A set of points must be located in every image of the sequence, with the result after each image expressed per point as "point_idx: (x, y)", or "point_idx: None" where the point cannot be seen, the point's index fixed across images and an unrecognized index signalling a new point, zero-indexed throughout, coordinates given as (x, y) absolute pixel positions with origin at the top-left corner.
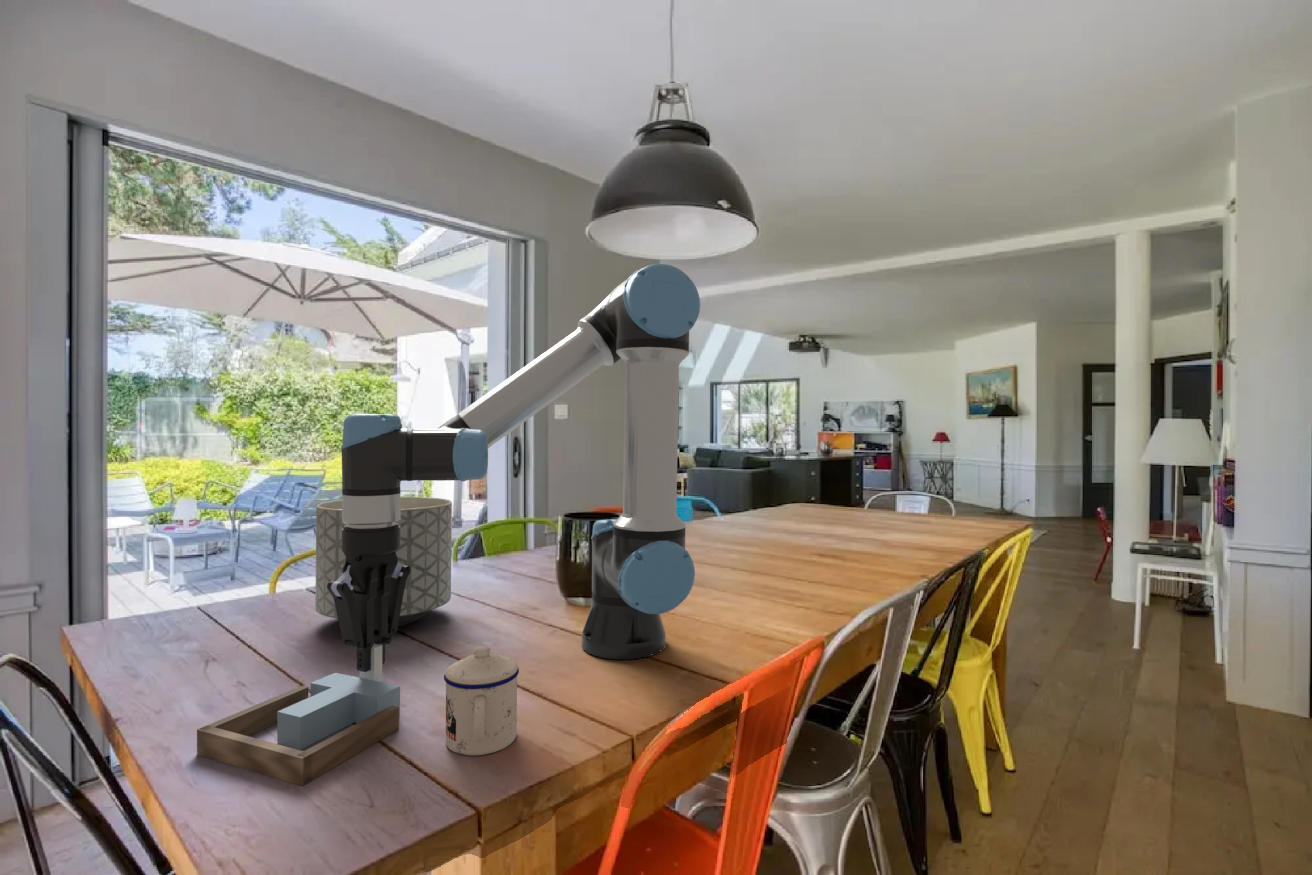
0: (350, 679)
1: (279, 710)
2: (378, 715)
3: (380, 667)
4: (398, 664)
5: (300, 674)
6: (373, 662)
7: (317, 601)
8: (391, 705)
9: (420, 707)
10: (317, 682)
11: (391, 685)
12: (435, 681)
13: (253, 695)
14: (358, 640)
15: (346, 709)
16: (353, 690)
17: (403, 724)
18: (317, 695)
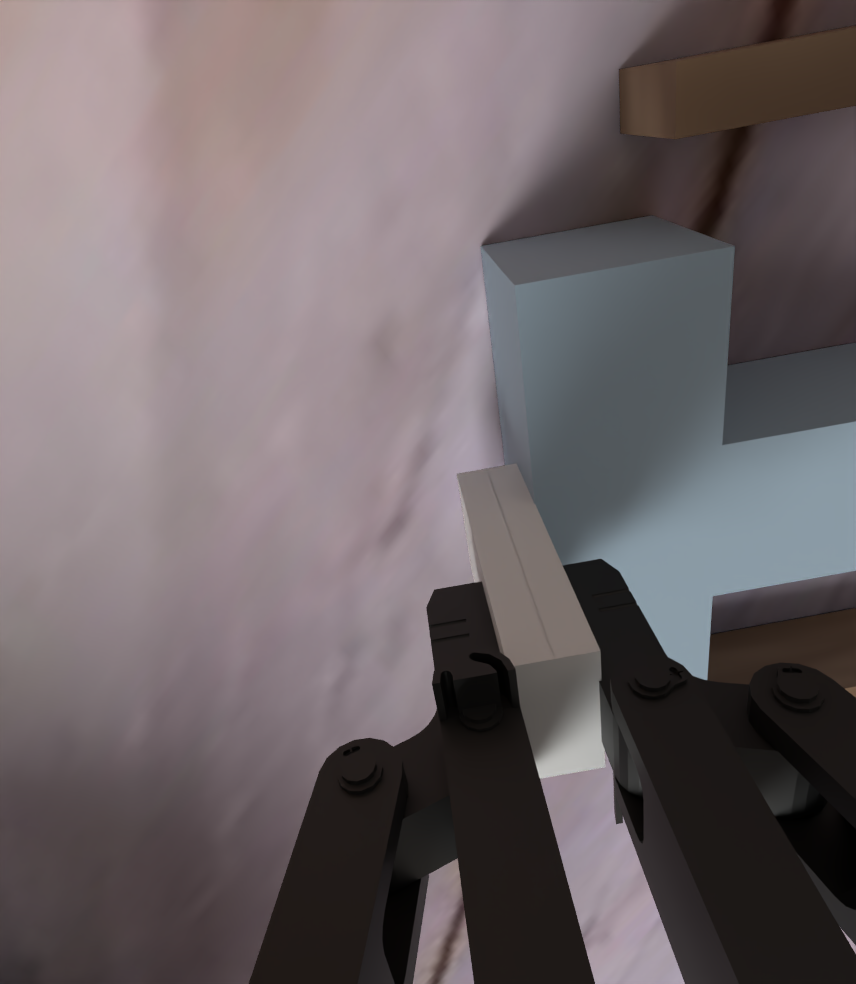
0: None
1: (788, 656)
2: (845, 60)
3: (494, 551)
4: (101, 765)
5: (431, 901)
6: (565, 580)
7: None
8: (682, 134)
9: (342, 234)
10: None
11: (536, 345)
12: (67, 471)
13: (632, 853)
14: (837, 718)
15: (741, 400)
16: (703, 470)
17: (553, 113)
18: (823, 562)
